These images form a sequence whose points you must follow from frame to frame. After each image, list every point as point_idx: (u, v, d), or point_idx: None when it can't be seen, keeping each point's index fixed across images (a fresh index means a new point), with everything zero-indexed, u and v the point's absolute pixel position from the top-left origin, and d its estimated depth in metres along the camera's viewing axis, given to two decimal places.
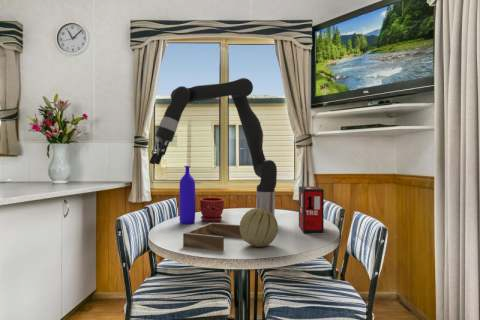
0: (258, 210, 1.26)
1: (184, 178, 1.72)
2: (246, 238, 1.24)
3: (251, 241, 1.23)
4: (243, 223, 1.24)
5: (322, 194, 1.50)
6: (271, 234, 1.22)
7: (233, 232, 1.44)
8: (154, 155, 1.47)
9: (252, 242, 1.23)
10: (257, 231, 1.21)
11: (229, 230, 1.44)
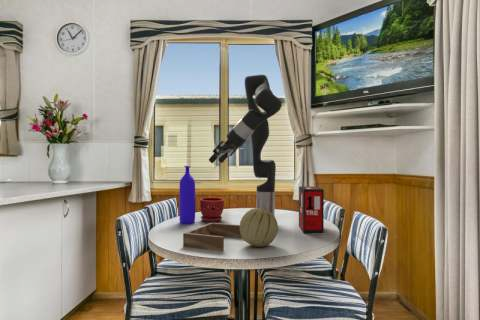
0: (258, 210, 1.26)
1: (184, 178, 1.72)
2: (246, 238, 1.24)
3: (251, 241, 1.23)
4: (243, 223, 1.24)
5: (322, 194, 1.50)
6: (271, 234, 1.22)
7: (233, 232, 1.44)
8: None
9: (252, 242, 1.23)
10: (257, 231, 1.21)
11: (229, 230, 1.44)
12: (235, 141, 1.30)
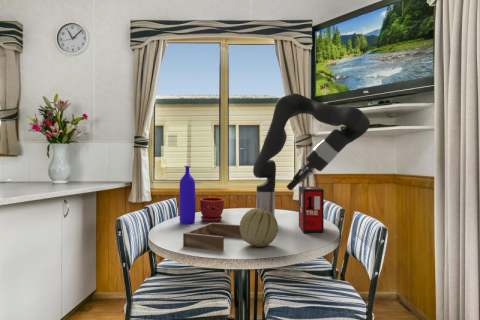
0: (258, 210, 1.26)
1: (184, 178, 1.72)
2: (246, 238, 1.24)
3: (251, 241, 1.23)
4: (243, 223, 1.24)
5: (322, 194, 1.50)
6: (271, 234, 1.22)
7: (233, 232, 1.44)
8: None
9: (252, 242, 1.23)
10: (257, 231, 1.21)
11: (229, 230, 1.44)
12: (318, 165, 1.16)
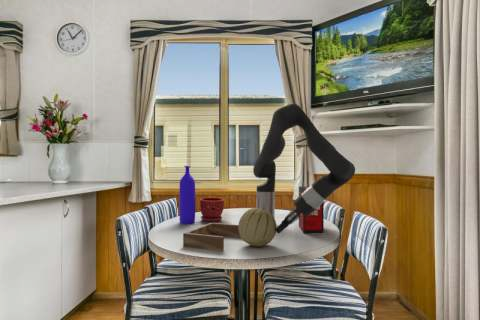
0: (256, 210, 1.26)
1: (184, 178, 1.72)
2: (245, 238, 1.24)
3: (250, 241, 1.23)
4: (242, 223, 1.25)
5: None
6: (269, 233, 1.23)
7: (233, 232, 1.44)
8: None
9: (251, 242, 1.23)
10: (255, 231, 1.21)
11: (229, 230, 1.44)
12: (305, 211, 1.18)
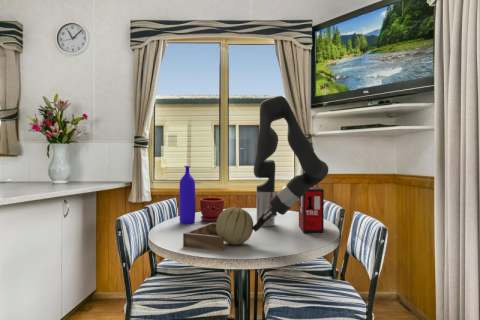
0: (234, 209, 1.29)
1: (184, 178, 1.72)
2: None
3: (228, 239, 1.25)
4: (220, 222, 1.26)
5: (322, 194, 1.50)
6: (247, 232, 1.26)
7: None
8: None
9: (229, 240, 1.26)
10: (234, 229, 1.24)
11: None
12: (280, 209, 1.22)
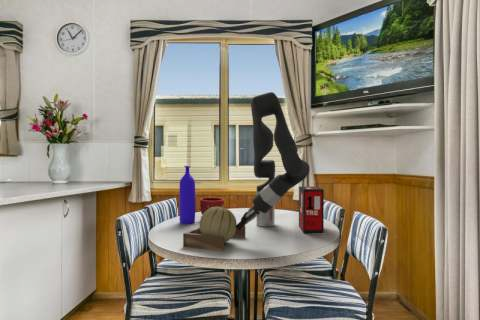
0: (218, 208, 1.30)
1: (184, 178, 1.72)
2: None
3: None
4: (205, 222, 1.27)
5: (322, 194, 1.50)
6: (232, 230, 1.28)
7: None
8: None
9: None
10: (219, 228, 1.25)
11: None
12: (262, 208, 1.24)
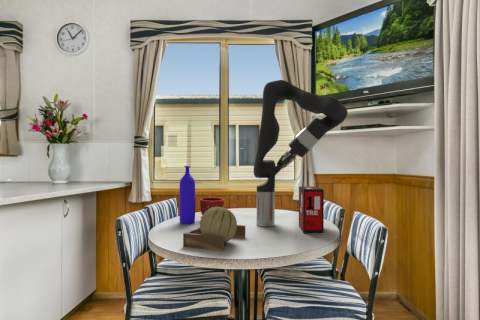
0: (219, 208, 1.30)
1: (184, 178, 1.72)
2: None
3: None
4: (205, 222, 1.27)
5: (322, 194, 1.50)
6: (232, 230, 1.28)
7: None
8: None
9: None
10: (219, 229, 1.25)
11: None
12: (299, 151, 1.25)
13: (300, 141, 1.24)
